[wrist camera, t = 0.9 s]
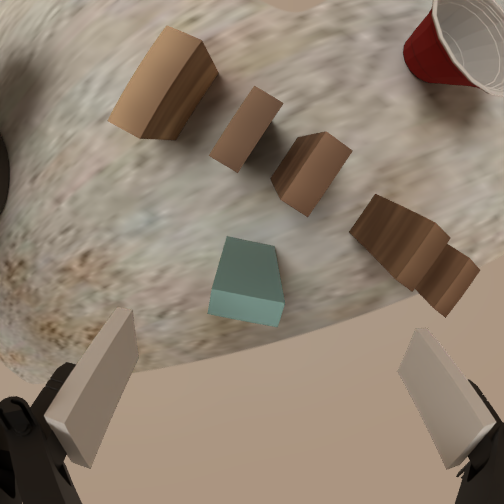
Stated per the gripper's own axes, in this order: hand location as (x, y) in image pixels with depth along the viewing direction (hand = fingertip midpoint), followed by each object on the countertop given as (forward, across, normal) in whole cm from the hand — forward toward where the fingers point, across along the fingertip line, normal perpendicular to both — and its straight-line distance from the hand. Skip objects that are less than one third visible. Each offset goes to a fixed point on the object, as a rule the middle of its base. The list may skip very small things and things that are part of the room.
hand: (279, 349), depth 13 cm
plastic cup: (+20, +16, +22) cm, 33 cm away
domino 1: (+19, -2, +9) cm, 22 cm away
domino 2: (+19, -1, -2) cm, 20 cm away
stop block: (+19, -9, +13) cm, 25 cm away
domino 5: (+19, +16, 0) cm, 25 cm away
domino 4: (+19, +11, +2) cm, 22 cm away
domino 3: (+19, +2, +7) cm, 21 cm away
